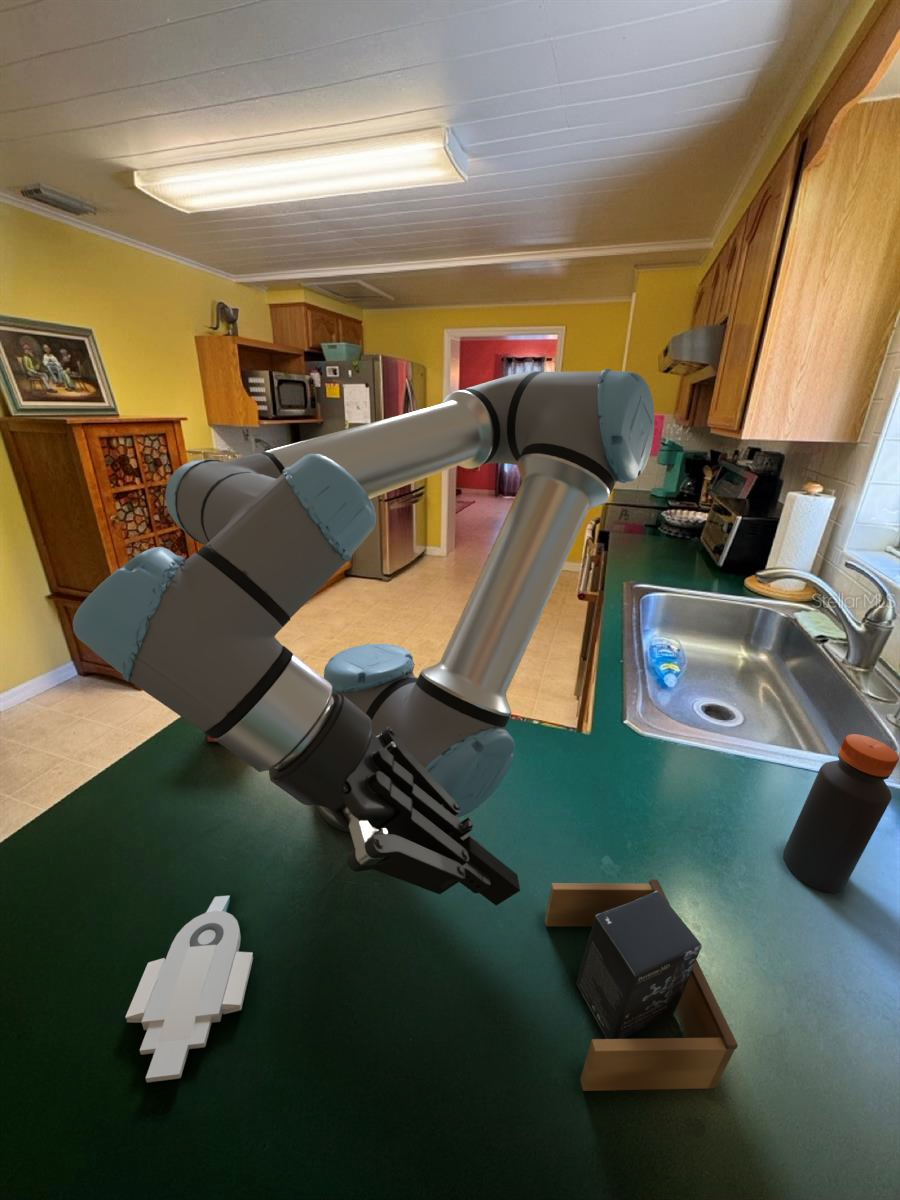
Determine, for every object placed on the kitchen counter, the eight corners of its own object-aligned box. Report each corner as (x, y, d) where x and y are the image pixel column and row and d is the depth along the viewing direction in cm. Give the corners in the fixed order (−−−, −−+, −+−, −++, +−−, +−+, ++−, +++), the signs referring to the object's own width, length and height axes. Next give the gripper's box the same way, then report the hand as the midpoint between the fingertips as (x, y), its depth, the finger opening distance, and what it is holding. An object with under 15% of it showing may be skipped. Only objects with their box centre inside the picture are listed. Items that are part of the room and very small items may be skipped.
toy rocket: (227, 1077, 40) (224, 1061, 39) (101, 1094, 38) (94, 1078, 37) (269, 896, 54) (268, 882, 53) (179, 903, 53) (175, 889, 52)
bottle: (788, 839, 66) (840, 721, 59) (848, 871, 62) (912, 749, 55) (776, 868, 62) (830, 744, 54) (839, 905, 57) (908, 776, 50)
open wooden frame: (582, 1092, 40) (596, 1047, 38) (544, 919, 54) (552, 878, 51) (716, 1089, 41) (738, 1045, 38) (645, 919, 54) (657, 879, 52)
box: (611, 1049, 43) (635, 976, 39) (574, 983, 48) (592, 912, 44) (676, 1015, 46) (704, 944, 42) (635, 956, 51) (658, 887, 47)
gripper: (291, 707, 41) (468, 847, 48) (233, 832, 29) (481, 994, 36) (351, 655, 39) (526, 808, 46) (316, 765, 27) (559, 949, 34)
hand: (506, 889), depth 41 cm, fingers closed
